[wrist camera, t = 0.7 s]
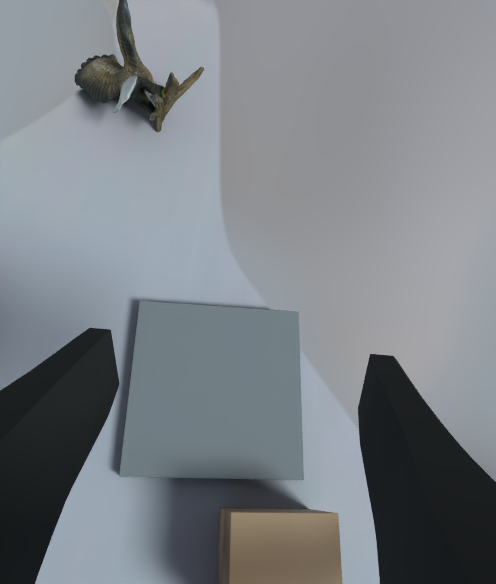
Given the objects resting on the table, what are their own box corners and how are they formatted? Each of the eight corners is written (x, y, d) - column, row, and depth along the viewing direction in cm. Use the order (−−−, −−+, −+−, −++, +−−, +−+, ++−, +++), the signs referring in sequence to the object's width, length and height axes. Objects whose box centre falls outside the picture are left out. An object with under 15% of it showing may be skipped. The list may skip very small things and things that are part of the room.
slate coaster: (300, 480, 26) (303, 479, 25) (120, 476, 25) (119, 476, 24) (295, 316, 30) (298, 311, 29) (140, 305, 29) (139, 300, 28)
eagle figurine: (217, 88, 36) (140, 1, 36) (193, 52, 28) (97, -56, 29) (149, 157, 37) (75, 74, 37) (110, 139, 30) (19, 37, 30)
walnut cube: (312, 615, 24) (345, 645, 19) (216, 617, 23) (227, 649, 19) (308, 509, 26) (338, 513, 21) (220, 508, 25) (231, 512, 21)
